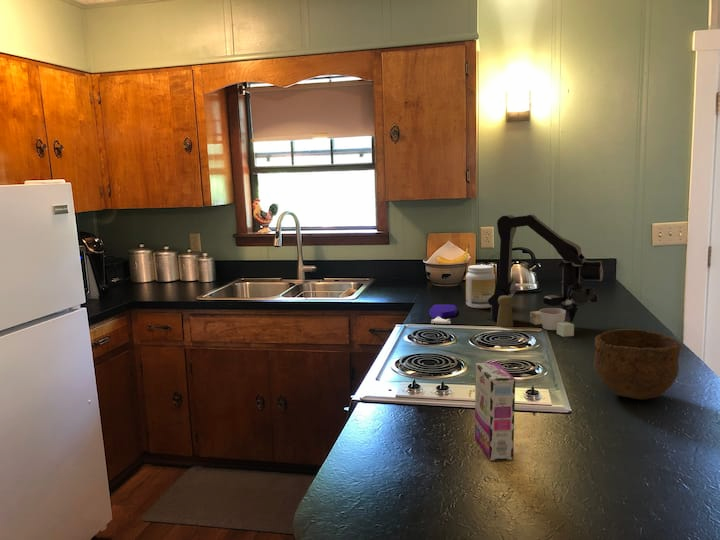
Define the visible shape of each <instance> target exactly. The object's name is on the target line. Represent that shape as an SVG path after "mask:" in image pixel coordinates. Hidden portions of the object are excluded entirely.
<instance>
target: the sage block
mask: <svg viewBox="0 0 720 540" xmlns="http://www.w3.org/2000/svg"><path fill="white" fill-rule="evenodd" d="M556 334H557V335H559V336H561V337H574V336H575V324H574V323H573V322H572V323H570V322H569V321H564V322H559V323H557V330H556Z"/></svg>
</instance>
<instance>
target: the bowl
mask: <svg viewBox="0 0 720 540" xmlns="http://www.w3.org/2000/svg"><path fill="white" fill-rule="evenodd" d="M681 347H682V344H681V343H680V342H678V341H677V340H675V339H674V338H672V337H671V336H668V335H665V334H662V333H657V332H652V331H647V330H643V329H636V328H635V329H631V328H620V329H619V328H617V329H612V330H607V331H604V332H602V333H600V334H597V335H596V336H595V338H594V361H593V368H594V371H595V373H596V374H597V377H598V378H599V379H600V381H601V383H603V384H604V385H603V386H605V387H606V388H607V390H609V391H610V392H612V393H613V394H616V395H617V396H619V397H625V398H630V399H634V400H640V401H641V400H649V399H652V398H653V399H654V398H657V397H659V396H661V395H662V394H663V395H664V393H666V391H668V390H669V389H670V388H671V387H672V385H673V384H674V382H675V380H676V379H677V377H678V372H679V358H680V356H679V355H680V351H681Z"/></svg>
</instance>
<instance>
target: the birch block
mask: <svg viewBox="0 0 720 540" xmlns="http://www.w3.org/2000/svg"><path fill="white" fill-rule="evenodd" d="M529 322H530V323H531V324H533V325H542V322H541V316H540V310H537V311H530V312H529Z"/></svg>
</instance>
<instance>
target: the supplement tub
mask: <svg viewBox="0 0 720 540" xmlns="http://www.w3.org/2000/svg"><path fill="white" fill-rule="evenodd" d="M467 271H468V272H466V275H465V305H466V306H467V307H469V308H474V309H488V308H491V305H489V302H488V299H489V298H490V297H492V296H493V295H494V291H495V286H496V274H495V273H494V272H493V271H494V266H493V265H489V264H474V265H468V266H467Z"/></svg>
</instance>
